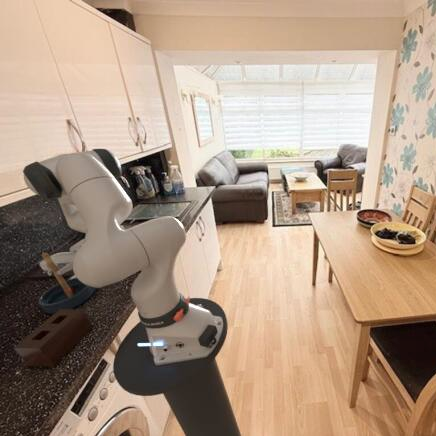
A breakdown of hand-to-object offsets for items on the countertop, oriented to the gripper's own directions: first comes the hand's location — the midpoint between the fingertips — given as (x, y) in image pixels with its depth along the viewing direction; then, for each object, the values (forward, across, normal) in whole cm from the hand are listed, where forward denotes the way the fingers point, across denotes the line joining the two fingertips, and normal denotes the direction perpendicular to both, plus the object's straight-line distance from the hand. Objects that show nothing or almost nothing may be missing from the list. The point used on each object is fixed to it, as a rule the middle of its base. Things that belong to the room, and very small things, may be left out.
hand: (54, 273), depth 85 cm
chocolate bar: (-22, -9, +14) cm, 28 cm away
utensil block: (+18, +13, +14) cm, 26 cm away
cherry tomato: (-4, -4, +12) cm, 13 cm away
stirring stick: (-1, 0, +12) cm, 12 cm away
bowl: (-2, -2, +14) cm, 14 cm away
